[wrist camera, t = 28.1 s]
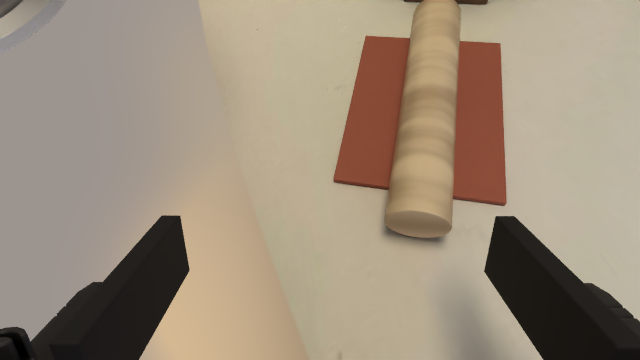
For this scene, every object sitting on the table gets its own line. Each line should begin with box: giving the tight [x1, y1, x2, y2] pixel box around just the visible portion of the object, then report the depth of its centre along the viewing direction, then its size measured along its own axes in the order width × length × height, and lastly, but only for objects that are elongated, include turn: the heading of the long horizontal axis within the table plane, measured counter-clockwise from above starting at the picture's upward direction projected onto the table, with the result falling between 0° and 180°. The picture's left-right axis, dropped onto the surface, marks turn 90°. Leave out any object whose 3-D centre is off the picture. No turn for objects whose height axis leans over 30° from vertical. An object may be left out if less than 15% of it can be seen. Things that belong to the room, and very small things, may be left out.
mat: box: [334, 36, 506, 205], centre depth 29 cm, size 12×16×1 cm
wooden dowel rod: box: [385, 0, 461, 238], centre depth 27 cm, size 20×4×4 cm, turn 168°
